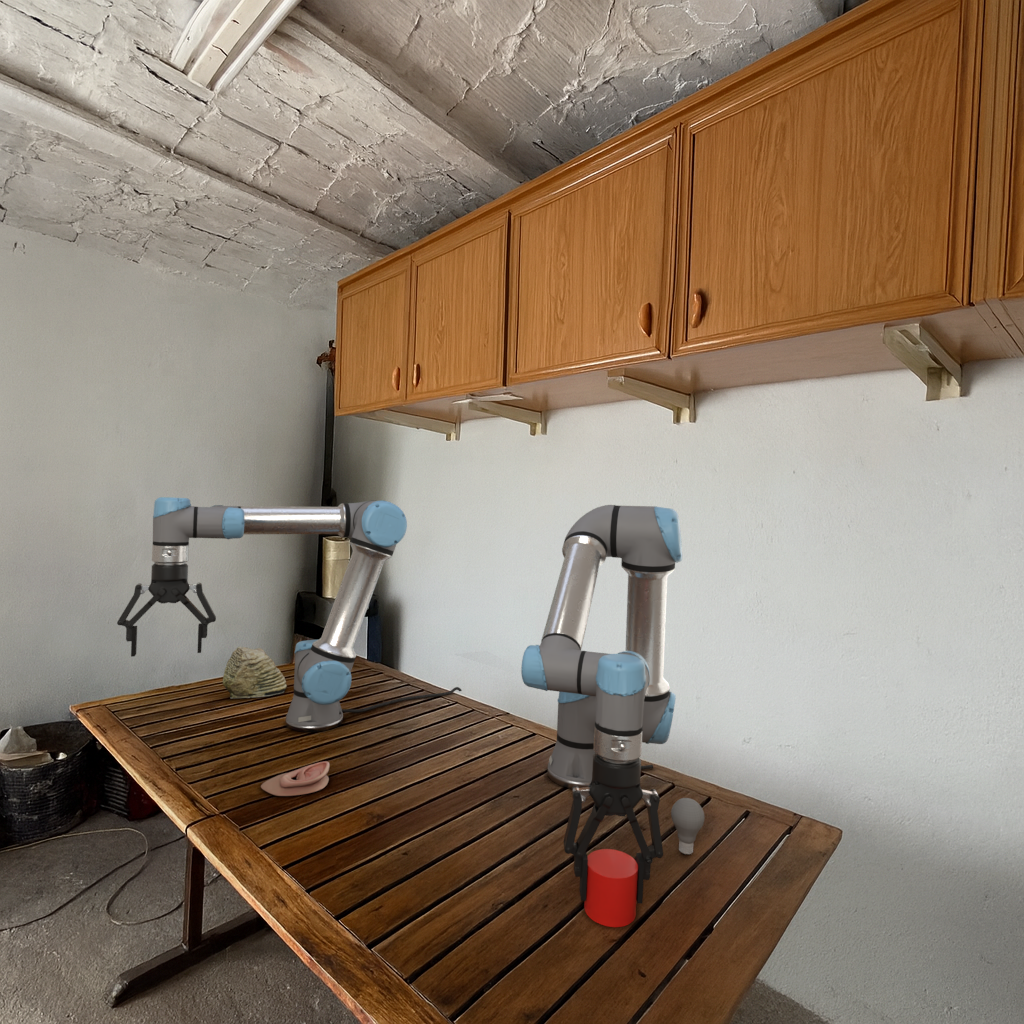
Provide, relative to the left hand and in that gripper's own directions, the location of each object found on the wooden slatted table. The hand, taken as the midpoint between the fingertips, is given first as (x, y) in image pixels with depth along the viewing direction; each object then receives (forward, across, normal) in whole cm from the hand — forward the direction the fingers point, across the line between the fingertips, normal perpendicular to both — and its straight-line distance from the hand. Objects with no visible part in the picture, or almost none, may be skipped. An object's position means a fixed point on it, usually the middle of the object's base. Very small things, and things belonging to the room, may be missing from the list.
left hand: (167, 653), depth 149 cm
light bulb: (+25, +92, -76) cm, 121 cm away
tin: (+25, +69, -84) cm, 112 cm away
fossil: (+25, +22, +44) cm, 55 cm away
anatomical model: (+25, +27, -24) cm, 44 cm away
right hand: (+23, +69, -84) cm, 111 cm away
